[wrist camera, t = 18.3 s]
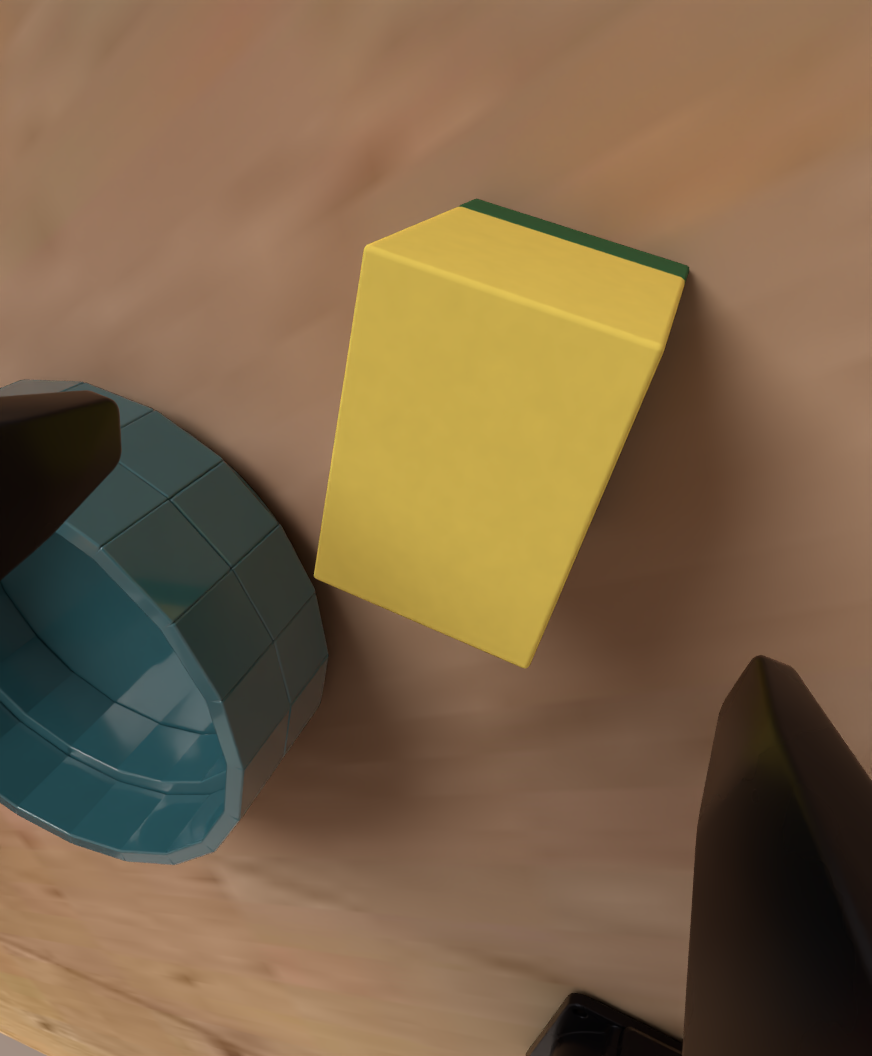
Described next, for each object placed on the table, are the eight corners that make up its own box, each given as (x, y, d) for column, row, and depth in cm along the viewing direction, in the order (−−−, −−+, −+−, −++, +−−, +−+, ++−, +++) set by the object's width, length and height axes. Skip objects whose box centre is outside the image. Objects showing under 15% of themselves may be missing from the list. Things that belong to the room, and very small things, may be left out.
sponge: (580, 529, 16) (527, 672, 12) (413, 463, 17) (311, 579, 13) (691, 266, 13) (666, 347, 9) (475, 197, 14) (361, 242, 10)
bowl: (311, 796, 26) (230, 928, 22) (0, 647, 28) (-125, 741, 24) (369, 476, 18) (258, 590, 14) (-70, 307, 20) (-273, 361, 16)
